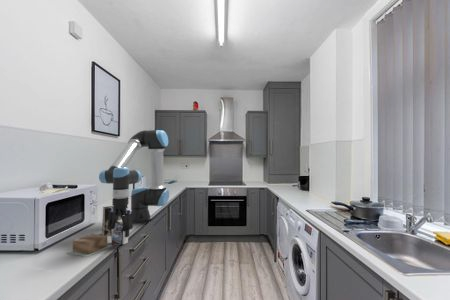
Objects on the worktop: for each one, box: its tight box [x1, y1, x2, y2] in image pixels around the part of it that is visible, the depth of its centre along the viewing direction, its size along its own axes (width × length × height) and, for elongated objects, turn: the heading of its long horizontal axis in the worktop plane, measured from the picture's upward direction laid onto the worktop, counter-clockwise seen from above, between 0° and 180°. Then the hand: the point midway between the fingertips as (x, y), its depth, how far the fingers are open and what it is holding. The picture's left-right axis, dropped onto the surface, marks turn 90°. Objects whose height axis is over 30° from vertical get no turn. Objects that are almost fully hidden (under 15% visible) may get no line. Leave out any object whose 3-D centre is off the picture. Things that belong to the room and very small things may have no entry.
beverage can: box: [111, 219, 124, 246], centre depth 112 cm, size 6×7×12 cm
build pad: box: [65, 243, 114, 258], centre depth 105 cm, size 14×14×1 cm
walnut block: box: [72, 233, 108, 254], centre depth 105 cm, size 10×10×5 cm
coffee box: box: [101, 205, 122, 237], centre depth 127 cm, size 9×6×16 cm
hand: (119, 242), depth 111 cm, fingers closed on beverage can, 7 cm apart
